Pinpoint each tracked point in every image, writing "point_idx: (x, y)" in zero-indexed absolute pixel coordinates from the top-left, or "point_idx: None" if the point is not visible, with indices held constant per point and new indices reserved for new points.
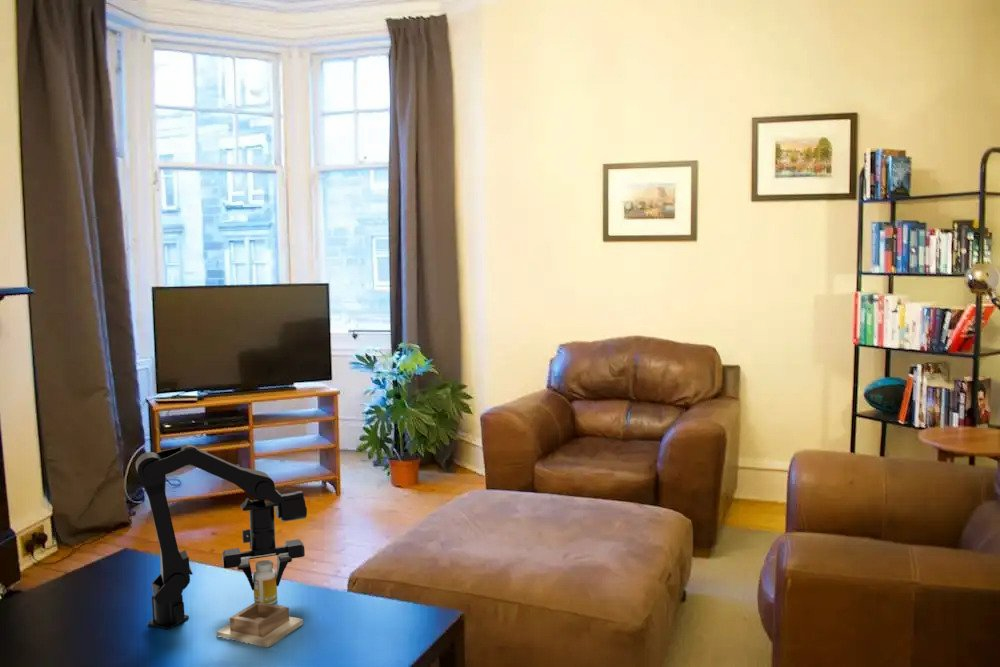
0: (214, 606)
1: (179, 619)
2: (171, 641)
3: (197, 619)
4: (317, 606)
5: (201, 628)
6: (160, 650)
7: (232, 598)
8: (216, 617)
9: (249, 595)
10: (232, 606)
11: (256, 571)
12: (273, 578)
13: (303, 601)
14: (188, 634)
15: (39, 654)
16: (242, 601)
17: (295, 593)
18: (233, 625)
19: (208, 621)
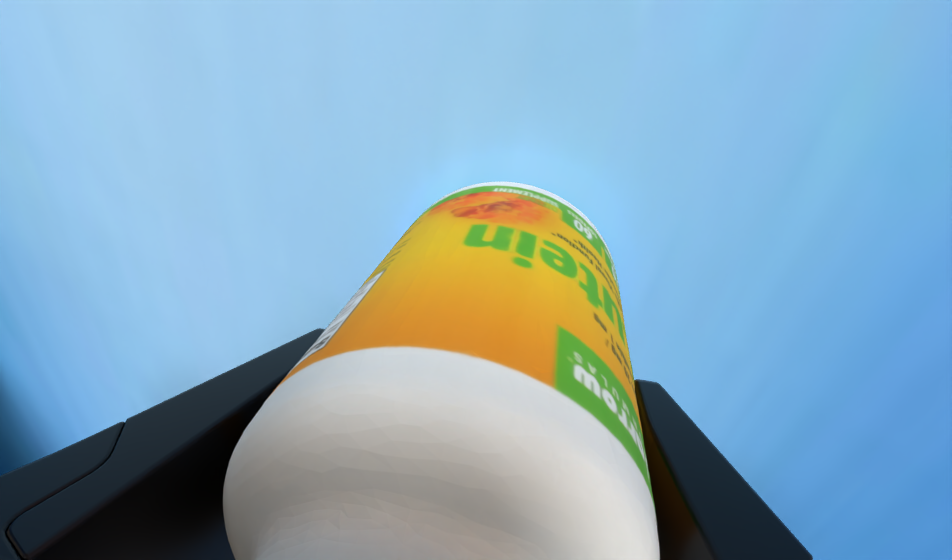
0: (66, 136)
1: None
2: (12, 463)
3: (31, 306)
4: (843, 556)
5: (104, 424)
6: None
7: (185, 8)
8: (147, 342)
9: (363, 13)
10: (221, 220)
11: (250, 533)
12: None
13: (807, 441)
14: (62, 446)
15: None
16: (296, 154)
17: (860, 241)
18: None
19: (113, 368)
